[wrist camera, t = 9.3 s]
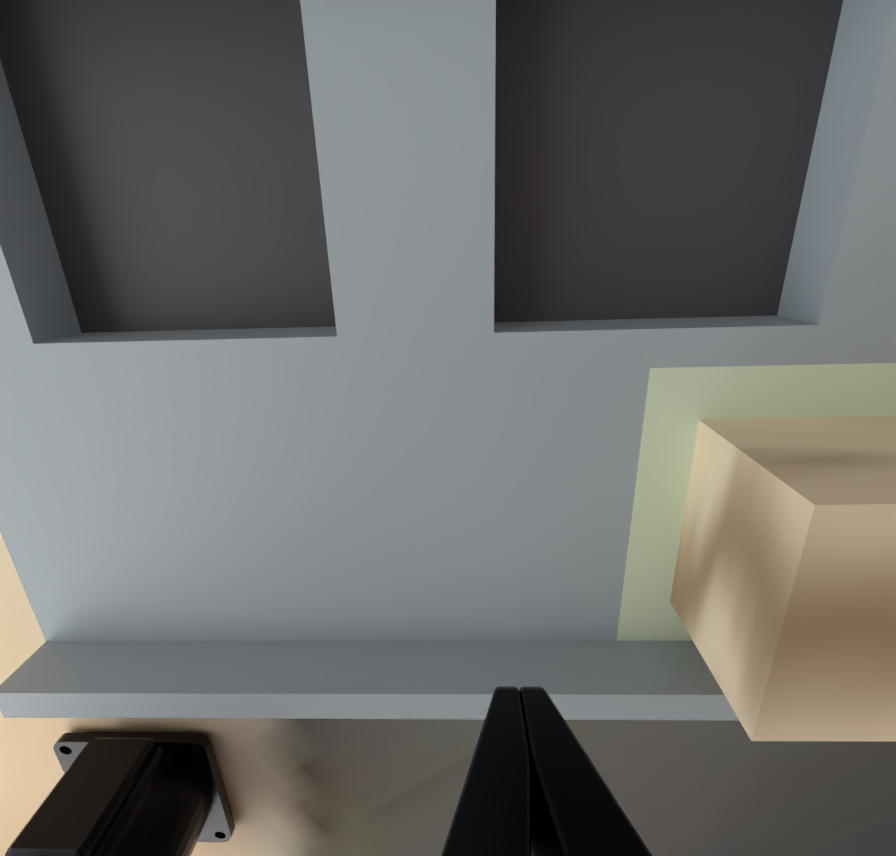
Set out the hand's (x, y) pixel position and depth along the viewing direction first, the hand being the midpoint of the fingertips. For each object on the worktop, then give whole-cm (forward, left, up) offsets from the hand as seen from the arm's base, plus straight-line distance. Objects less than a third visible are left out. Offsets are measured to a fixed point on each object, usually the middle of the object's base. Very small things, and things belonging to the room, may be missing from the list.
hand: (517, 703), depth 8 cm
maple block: (0, -8, -6) cm, 10 cm away
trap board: (+4, +1, -8) cm, 9 cm away
